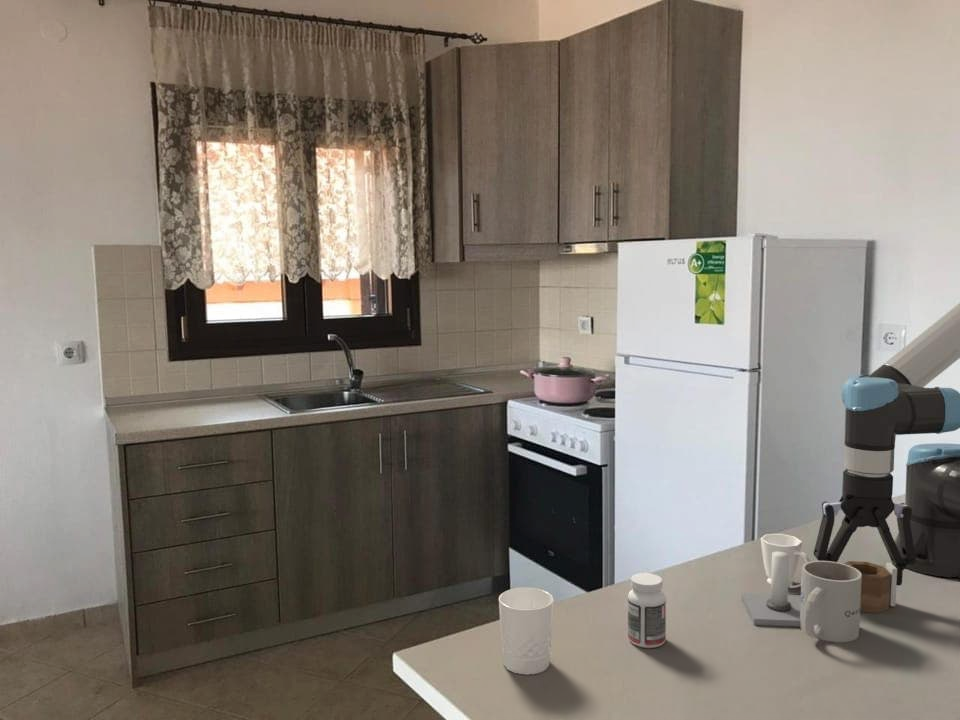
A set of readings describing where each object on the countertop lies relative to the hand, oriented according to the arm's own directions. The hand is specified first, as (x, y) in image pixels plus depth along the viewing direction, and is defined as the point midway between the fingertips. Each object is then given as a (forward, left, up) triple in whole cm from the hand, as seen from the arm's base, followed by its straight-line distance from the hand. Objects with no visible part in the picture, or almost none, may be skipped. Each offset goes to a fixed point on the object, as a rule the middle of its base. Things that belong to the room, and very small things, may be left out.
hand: (861, 601), depth 136 cm
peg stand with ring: (+15, +5, 0) cm, 16 cm away
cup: (+11, -7, 0) cm, 12 cm away
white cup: (+55, +26, 0) cm, 61 cm away
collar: (0, 0, 0) cm, 0 cm away
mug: (+10, +12, -1) cm, 15 cm away
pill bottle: (+37, +17, 0) cm, 41 cm away
